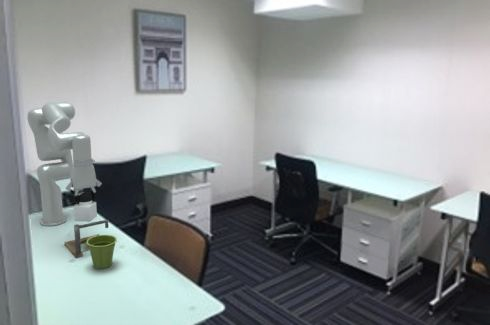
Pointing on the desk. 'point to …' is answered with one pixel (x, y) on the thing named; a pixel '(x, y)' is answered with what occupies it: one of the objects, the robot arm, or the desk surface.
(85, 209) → the medicine bottle
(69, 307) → the desk surface
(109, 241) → the plant pot
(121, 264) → the desk surface
